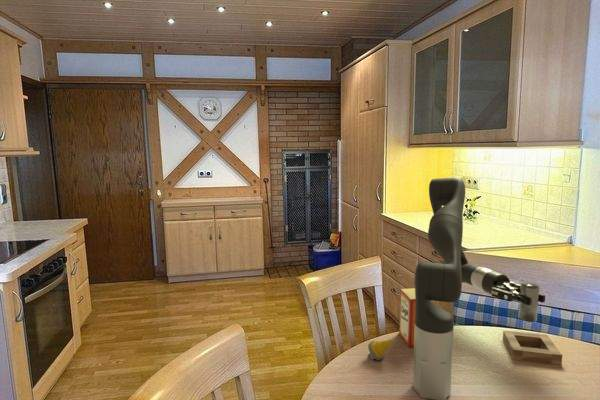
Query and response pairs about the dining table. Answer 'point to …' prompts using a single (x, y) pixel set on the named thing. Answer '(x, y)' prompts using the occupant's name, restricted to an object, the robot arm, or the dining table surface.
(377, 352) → the yellow cone tip
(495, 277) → the robot arm
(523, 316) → the metal tea canister
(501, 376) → the dining table surface
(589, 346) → the dining table surface
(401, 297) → the baking soda box
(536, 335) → the frame
